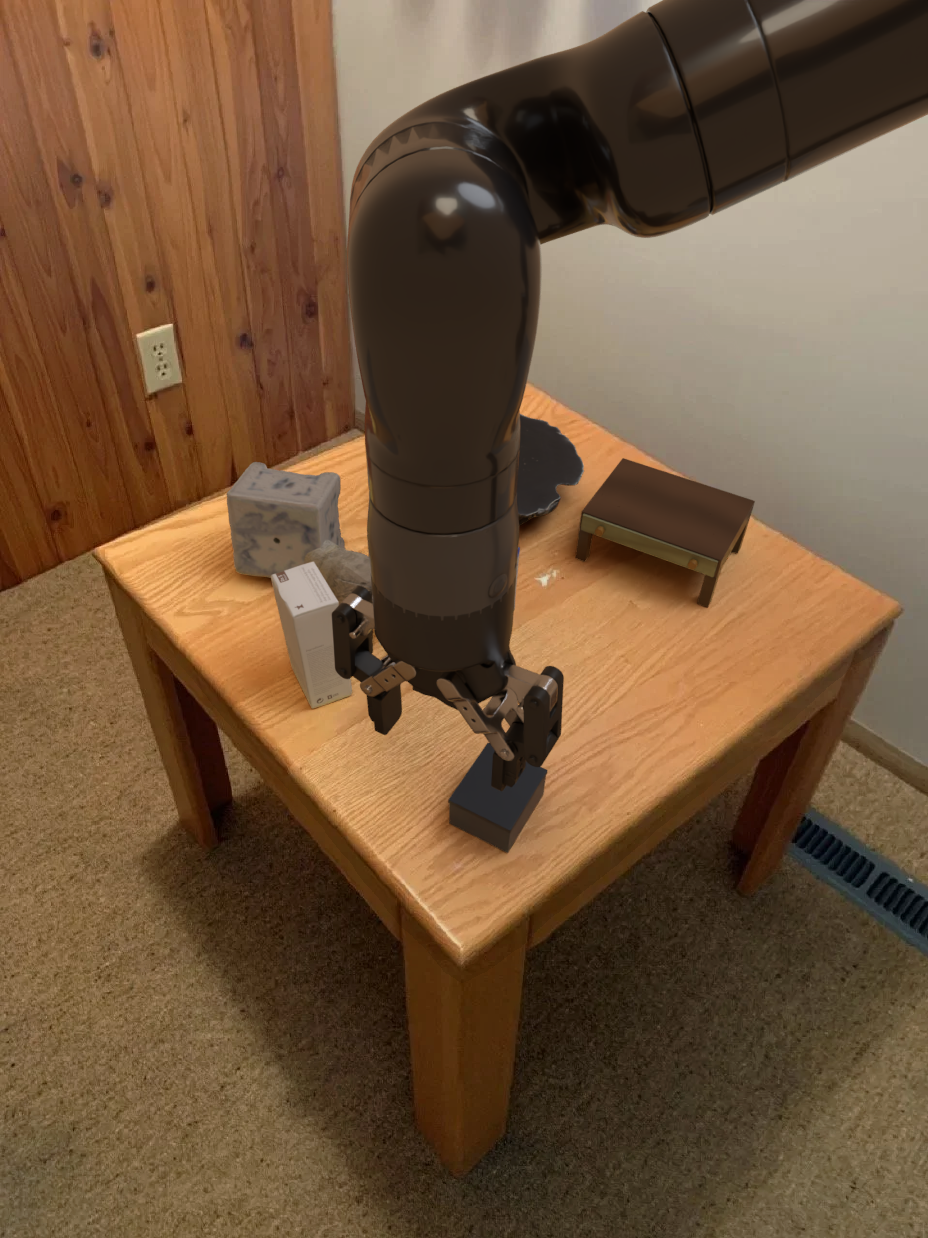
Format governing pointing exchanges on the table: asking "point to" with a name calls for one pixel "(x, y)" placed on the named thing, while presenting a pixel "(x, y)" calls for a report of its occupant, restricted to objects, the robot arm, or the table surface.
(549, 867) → the table surface
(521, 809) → the storage box
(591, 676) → the table surface
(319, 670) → the cosmetic box
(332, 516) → the incense holder
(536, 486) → the board
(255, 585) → the table surface
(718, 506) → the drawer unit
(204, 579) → the table surface
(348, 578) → the decorative bird
